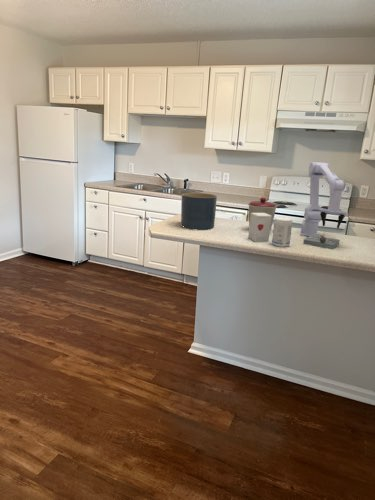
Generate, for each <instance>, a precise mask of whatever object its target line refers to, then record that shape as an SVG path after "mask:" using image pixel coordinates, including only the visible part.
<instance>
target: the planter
mask: <svg viewBox="0 0 375 500" xmlns="http://www.w3.org/2000/svg"><path fill="white" fill-rule="evenodd" d="M217 199H218V196H217V195H215V194H211V193H206V192H205V193H204V192H186V193H182V194H181V205H180V207H181V209H180V210H181V211H180V213H181V215H180V216H181V217H180V220H181V221H180V225H182V226H184V227H186V228H185V229H187V228H189V229H188V230H193V229H197V230H196V231H206V230H207V231H209V230H212V229H214V228H215V220H216V208H217ZM182 226H181V227H182ZM184 227H183V228H184ZM208 229H209V230H208Z"/></svg>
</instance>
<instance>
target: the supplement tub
mask: <svg viewBox="0 0 375 500" xmlns="http://www.w3.org/2000/svg"><path fill="white" fill-rule="evenodd" d="M272 229H273V230H272V240H271V243H272V245H273V246H276V247H284V248H285V247H290V244H291V238H292V237H291V236H292V229H293V219H292V218H290V217H285V216H277V217H274V219H273V227H272Z"/></svg>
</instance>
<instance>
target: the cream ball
mask: <svg viewBox="0 0 375 500" xmlns="http://www.w3.org/2000/svg"><path fill="white" fill-rule="evenodd" d="M318 234H319V235H318V236H320V237H325V232H324V231H320V232H318Z"/></svg>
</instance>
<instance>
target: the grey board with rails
mask: <svg viewBox="0 0 375 500" xmlns="http://www.w3.org/2000/svg"><path fill="white" fill-rule="evenodd" d="M324 237H325V238H326V239H327V240H326V241H325V242H321V241H320V238H321V237H320V236H319V235H318V236H315V235H311V236H306V238H304V239H303V241H302V242H303V243H302V244H303V245H308V246H314V247H317V248H318V247H319V248H324V249H328V250H329V249H330V250H334V249H335V248H336V247H337V246H338V245H339V244H340V241H341V240H340V239H338V238H333V237H326V236H324ZM328 240H329V241H328Z"/></svg>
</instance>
